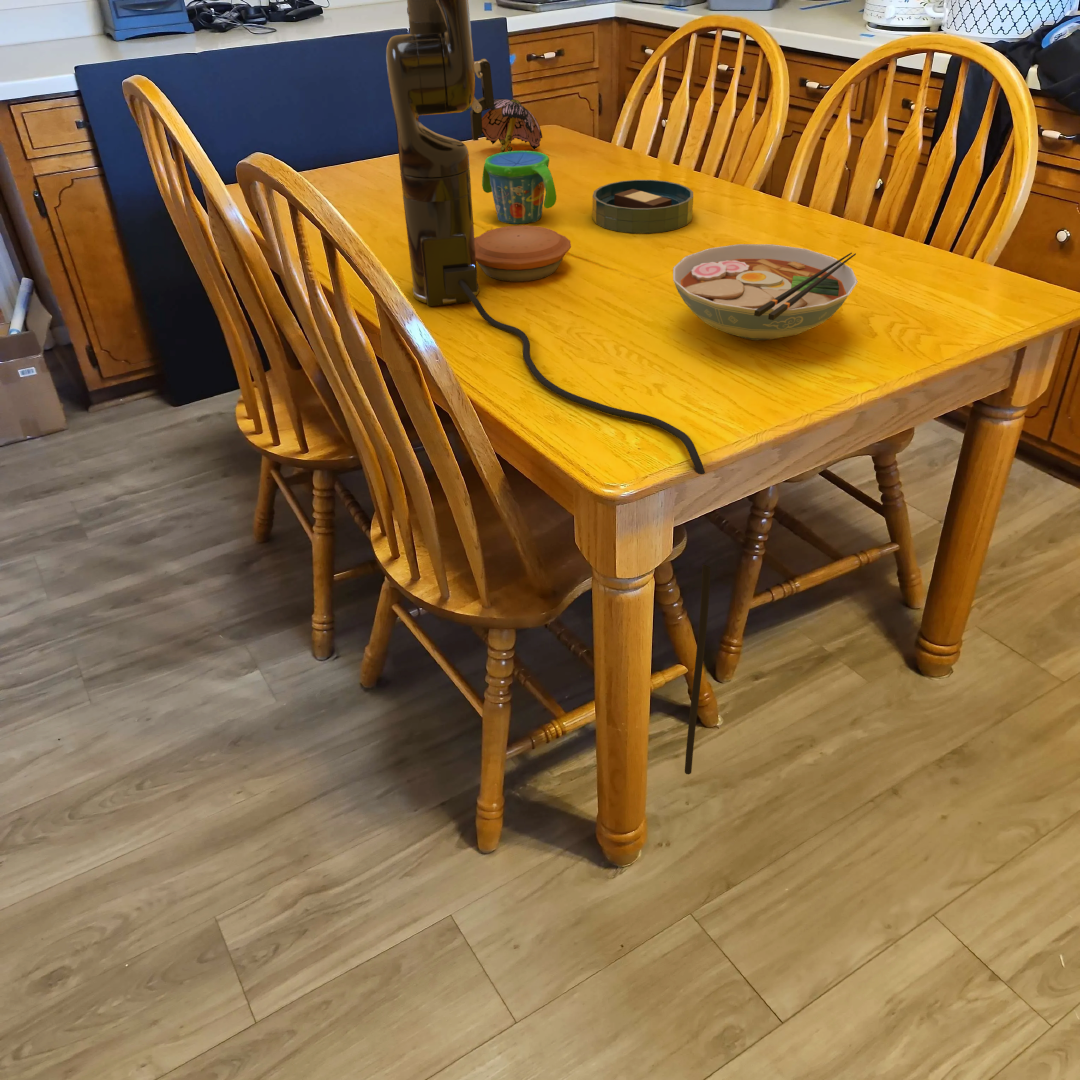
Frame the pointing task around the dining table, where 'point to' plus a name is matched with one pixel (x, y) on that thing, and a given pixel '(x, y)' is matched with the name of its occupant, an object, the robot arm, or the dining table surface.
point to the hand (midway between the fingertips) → (446, 141)
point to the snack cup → (519, 185)
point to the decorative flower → (510, 124)
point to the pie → (520, 252)
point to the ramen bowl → (763, 288)
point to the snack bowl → (643, 217)
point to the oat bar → (640, 200)
